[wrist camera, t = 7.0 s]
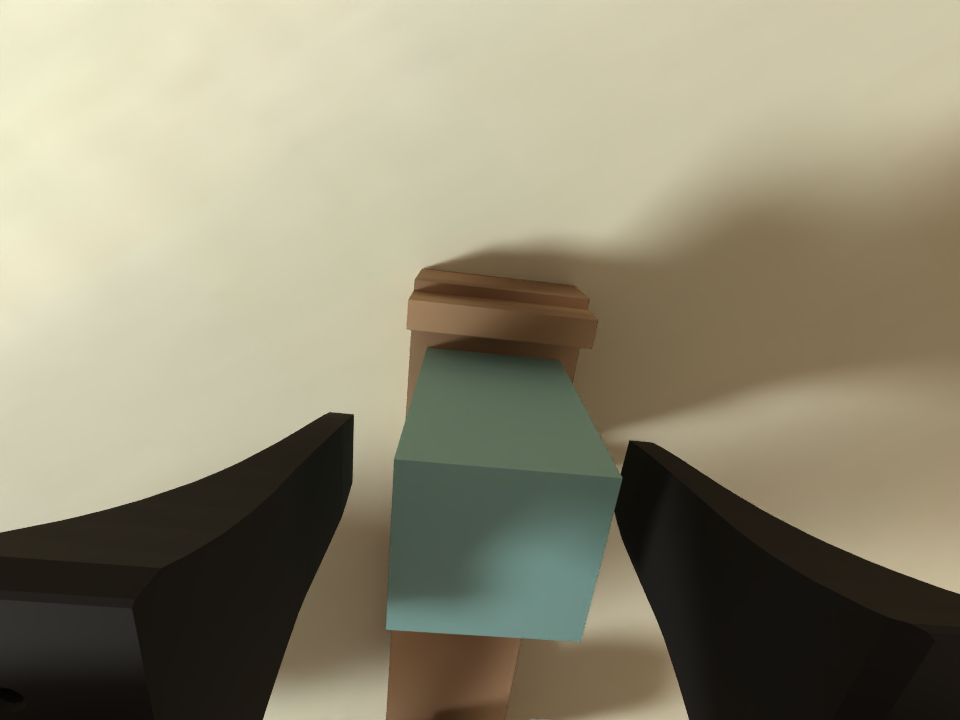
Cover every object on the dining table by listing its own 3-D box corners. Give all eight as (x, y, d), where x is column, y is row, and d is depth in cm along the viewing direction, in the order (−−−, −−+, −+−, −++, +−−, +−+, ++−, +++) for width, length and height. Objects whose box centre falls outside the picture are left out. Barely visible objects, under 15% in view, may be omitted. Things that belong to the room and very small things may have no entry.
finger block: (417, 478, 15) (384, 650, 9) (426, 347, 13) (394, 459, 8) (537, 488, 15) (575, 662, 9) (559, 360, 14) (622, 478, 8)
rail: (388, 746, 23) (347, 1018, 15) (421, 268, 15) (368, 347, 7) (487, 751, 23) (494, 1021, 15) (574, 285, 15) (680, 379, 7)
